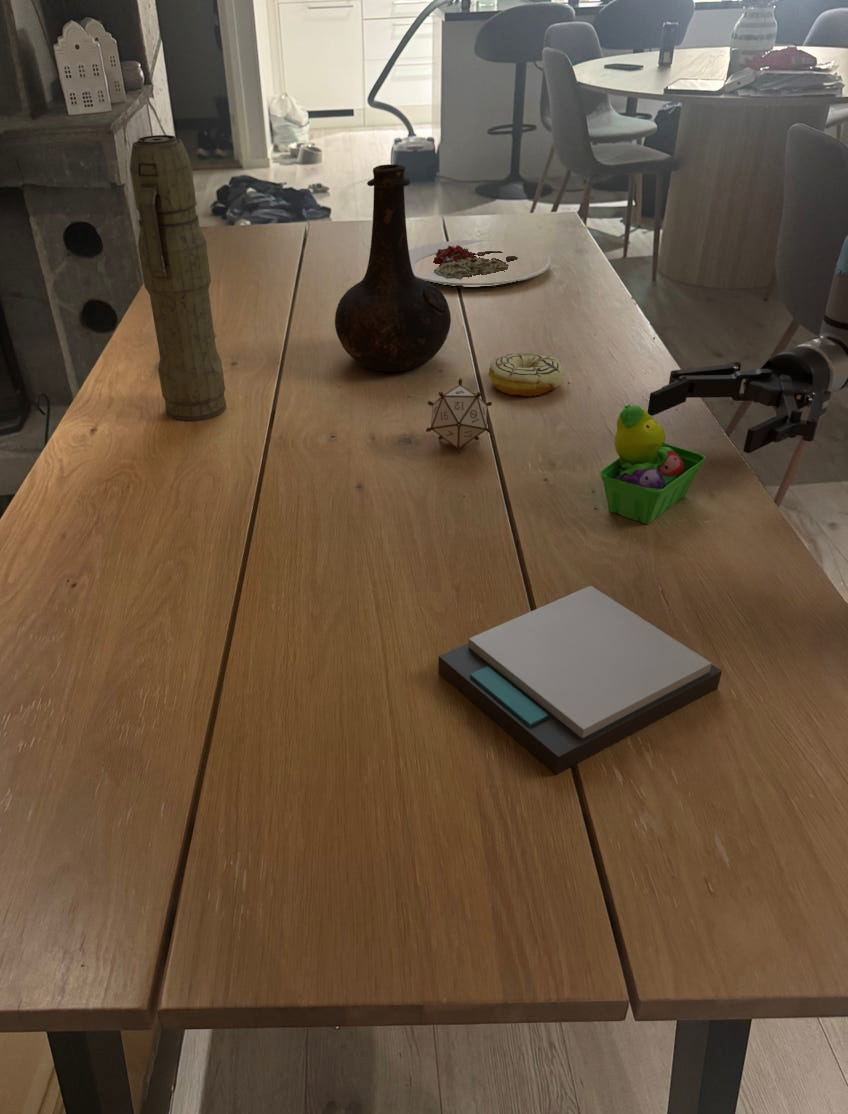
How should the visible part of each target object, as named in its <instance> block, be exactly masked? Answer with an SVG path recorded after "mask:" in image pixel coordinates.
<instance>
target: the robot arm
mask: <svg viewBox="0 0 848 1114" xmlns="http://www.w3.org/2000/svg"><path fill="white" fill-rule="evenodd" d="M823 315H824V316H823V318H822V322H821V325H820V329H819V333H818V335H817V336H815V337H813V338H811V339H809V340H808V341H806V342H803V343H801V344H798V345H796V346H794V347H790V348H788V349H786V350H783V351H781V352H778V353H776V354H774V355H773V356H771V357H770V358H769V359H767V360H766V362H765V363H764V364H763V365H762V366H760V368H758V369H751V370H744V369H742V368H741V367H742V362H740V361H731V362H728V363H725V364H717V365H709V366H700V367H693V368H692V367H691V368H683V369H674V370H670V373H669V379H668V384H666V385H663V386H662V387H661V388H659V389H656V390H654V391H652V392H650V393H649V400H648V401H649V402H648V405H647V406H648V408H647V411H646V412H647V413H648V414H649V415H650V416H651V417H653V416H656V415H658V414H661V413H663V412H664V411H667V410H670V409H672V408H675V407H676V406H679V405H681V404H684V403H686V402H687V399H689V398H690V399H694V398H695V399H696V398H698V399H699V398H701V399H703V398H706V399H707V398H731V400H732V401H734V402H749V401H750V402H753V403H759V404H761V405H762V406H765V407H772V408H773V410H774V411H775V416H772V417H771V418H769V419H766V420H764V421H763V422H760V423H758V424H755V425H754V426H752V427H750V428H748V429H747V431H746V437H745V442H744V446H743V450H742V451H743V452H744V453H746V454H751V453H753V452H755V451H757V450H759V449H762V448H763V447H765V446H767V445H770V444H772V443H780V442H782V441H784V440H786V439H795V438H796V437H797V436H799V437H801V440H803V441H804V442H813V441H814V439H815V436H816V431H817V428H818V425H819V420H820V417H821V416H823V415H824V414H825V413H827V409H828V406H829V402H830V398H831V395H833V394H834V393H836V392H838V391H839V392H840V391H841V390H844V389H845V388H848V234H847V235H846V237H845V239H844V241H843V244H842V247H841V250H840V252H839V256H838V259H837V262H836V265H835V266H834V274H833V278H832V282H831V287H830V290H829V295H828V300H827V304H826V308H825V312H824V314H823ZM742 383H743V392H741V387H742ZM805 407H807V408H808V409H807V412H808V414H807V418H806V420H805V419H802V415H803V410H802V409H803V408H805Z"/></svg>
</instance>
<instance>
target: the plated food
mask: <svg viewBox="0 0 848 1114" xmlns="http://www.w3.org/2000/svg"><path fill="white" fill-rule="evenodd" d="M482 241H483V242H484V241H491V239H490V240H487V239H464V240H461V239H460V240H450V241H449V240H448V241H442V242H434V243H430V244H424V245H421V246H417V247H414V248H412V249H409V256H410V262H411V267H412V270H413V273H414V275H415V277H416V278H418V279H422V280H424V281H429V283H430V282H434V283H440V284H446V285H455V286H463V285H494V284H503V283H511V282H515V283H517V282H516V281H518V282H520V281H526V280H529V279H532V278H535V277H537V276H539V275H541V274H544V273H545V272H546V271H547V270H549V269H550V267H551V265H550V264H552V259H551V256H549V255H548V254H547V253H546V252H545V251H542V252H543V253H545V254H546V256H548V263H547V264H546V265H545V267H543V268H542V269H540V270H539V271H537V272H534V273H532V274H530V275H527V276H523V277H520V278H516V279H510V280H505V281H498V282H488V283H459V280H461V279H462V278H463V277H468V278H469V277H472V275H473V276H476V275H480V274H481V275H487V274H491V273H496V272H499V271H504V270H507V269H508V266H509V265H508V264H506V262H503V261H501V260H499V259H496V258H492V259H491V260H489V259H484V258H480V257H479V258H477V257H476V256H474V255H478V256H484V255H485V254H490V253H503V252H501V251H485V252H478V253H477V254H476V253H472V252H469V251H468V249H467V248H466V249H465V248H464V249H463V248H462V247H461V246H463V245H469V244H473V243H476V242H477V243H478V242H482ZM432 255H436V257H434V261H433V263H435V264H440V265H439V267H437V268H436V269H434V272H430V274H431V275H430V274H429V275H428V276H425V277H424V276H422V275H420V274H418V273H417V272H415V270H414V265H415V264H416V263H417V262H418V261H420V260H421V259H424V258H426V257H429V256H432ZM517 259H518V257H516V256H507V257H506V261H507V262H510V261H514V260H517ZM549 266H550V267H549ZM504 272H505V271H504ZM458 279H459V280H458ZM434 283H433V284H434ZM511 284H512V283H511Z"/></svg>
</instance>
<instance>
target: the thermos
mask: <svg viewBox="0 0 848 1114" xmlns="http://www.w3.org/2000/svg"><path fill="white" fill-rule="evenodd" d="M129 162H130V163H129V169H130V170H129V171H130V177H131V183H132V190H133V195H134V201H135V202H134V203H135V207H136V210H137V211H138V216H139V219H138V226H139V234H138V241H137V243H138V244H137V249H138V254H139V261H140V268H141V273H142V279H143V285H144V288H145V290H146V291H147V293H148V295H149V300H150V306H151V312H152V316H153V317H152V318H153V323H154V329H155V330H154V331H155V335H156V342H157V347H158V354H159V364H158V369H157V371H158V377H159V383H160V389H161V395H162V397H163V399H164V404H165V413H166V415H167V414H168V415H167V416H168V417H169V416H170V417H169V418H171V417H172V418H171V419H173V418H174V419H173V420H176V419H180V420H179V421H182V420H198V421H203V420H202V419H205V420H208V418H209V419H212V418H215V417H217V416H219V415H221V414H222V413H223V411H224V412H225V410H226V409H227V402H226V399H225V391H226V385H225V377H224V370H223V362H222V359H221V357H220V355H219V352H218V351H217V346H216V337H215V330H214V322H213V314H212V313H213V312H212V306H211V299H210V292H209V289H210V287H211V286H210V285H211V282H212V279H211V271H210V262H209V254H208V247H207V239H206V237H205V235H204V233H203V231H202V228H201V225H200V222H199V221H200V220H199V215H198V214H197V210H196V206H197V198H196V189H195V184H194V175H193V167H192V162H191V159H190V156H189V154H188V151H187V150H186V147H185V145H184V143H183V141H182V139H180V138H176V135H170V134H156V135H155V134H154V135H145V136H142V137H139V138H137V140H136V141H134V142H132V147H131V154H130V161H129ZM225 408H226V409H225Z"/></svg>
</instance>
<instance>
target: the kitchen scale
mask: <svg viewBox="0 0 848 1114" xmlns="http://www.w3.org/2000/svg"><path fill="white" fill-rule="evenodd" d="M437 664H438V665H437V667H438V670H437V672H438V674H439V675H440V676H441V677H442V678H443V679H445V681H447V682H448V683H449V684H451V686H453V688H455V689H456V690H457V691H458V692H460V693H461V694H462V695H463V696H464V697H465V698H466V699H468V700H469V701H470V702H471V703H472V704H473V705H475V706H476V707H477V708H478V709H479V710H480V711H482V713H484V714H485V715H486V716H487V717H489V719H491V720H492V721H493V722H494V723H495V724H497V725H498V726H499V727H500V728H501V729H502V730H503V731H505V732H506V733H507V734H508V735H510V737H511V738H513V739H514V740H515V741H516V742H517V743H519V744H520V745H521V746H522V747H523V748H525V749H526V750H527V751H528V752H529V753H530V754H531V755H532V756H533V757H535V758H536V759H537V760H538V761H539V762H540V763H542V764H543V765H544V766H545V767H546V768H548V770H549V771H551V772H552V773H553V774H554V775H556V776H557V775H558V774H561V773H563V772H565V771H567V770H568V769H570V768H572V767H574V766H576V765H578V764H579V763H581V762H584V761H585V760H587V759H589V758H590V757H592V756H595V755H597V754H599V752H602V751H604V750H606V749H607V748H609V747H611V746H613V745H614V744H617V743H619V742H620V741H623V740H624V739H626V738H628V737H630V736H632V735H634V734H635V733H637V732H638V731H641V730H643V729H644V728H646V727H648V726H650V725H652V724H654V723H655V722H658V721H659V720H661V719H663V718H665V717H667V716H669V715H671V714H672V713H675V712H676V711H679V710H680V709H682V708H684V707H685V706H687V705H690V704H691V703H693V702H696V700H698V699H700V698H702V697H705V696H706V695H708V694H710V693H711V692H714V691H716V690H717V689H718V688H719V686H720V680H721V677H722V673H723V671H722V670H721V669H720V668H718V667H717V666H715V665H713V663H712V662H711V661H709V660H708V659H706V658H704V656H701V655H700V654H698V653H697V652H695V651H694V650H692V649H691V648H689V647H687V646H686V645H684V644H683V643H682V642H680V641H679V640H677V639H675V638H674V637H672V636H671V635H669V634H667V633H666V632H664V631H662V630H661V629H660V628H657V626H655V625H653V624H651V623H650V622H648V621H647V620H645V619H644V618H643V617H640V616H639V615H638V614H636V613H634V612H633V611H631V610H630V609H628V608H627V607H625V606H624V605H622V604H620V603H618V601H616V600H614V599H613V598H611V597H610V596H608V595H607V594H605V593H603V592H602V591H600V590H599V589H597V588H596V587H594V586H592V585H588V586H586V587H584V588H581V589H579V590H577V591H575V592H572V593H569V594H568V595H566V596H563V597H561V598H559V599H556V600H554V601H552V602H549V603H546V604H545V605H542V606H540V607H537V608H536V609H533V610H530V611H529V612H526V613H524V614H522V615H520V616H517V617H515V618H513V619H511V620H508V621H505V622H504V623H501V624H499V625H496V626H494V627H492V628H489V629H487V630H485V631H483V632H480V633H478V634H475V635H473V636H471V637H469V638H468V642H467V643H464V644H463V645H460V646H458V647H456V648H454V649H452V650H449V651H447V652H444V653H441V654H440V655H438V663H437Z"/></svg>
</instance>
